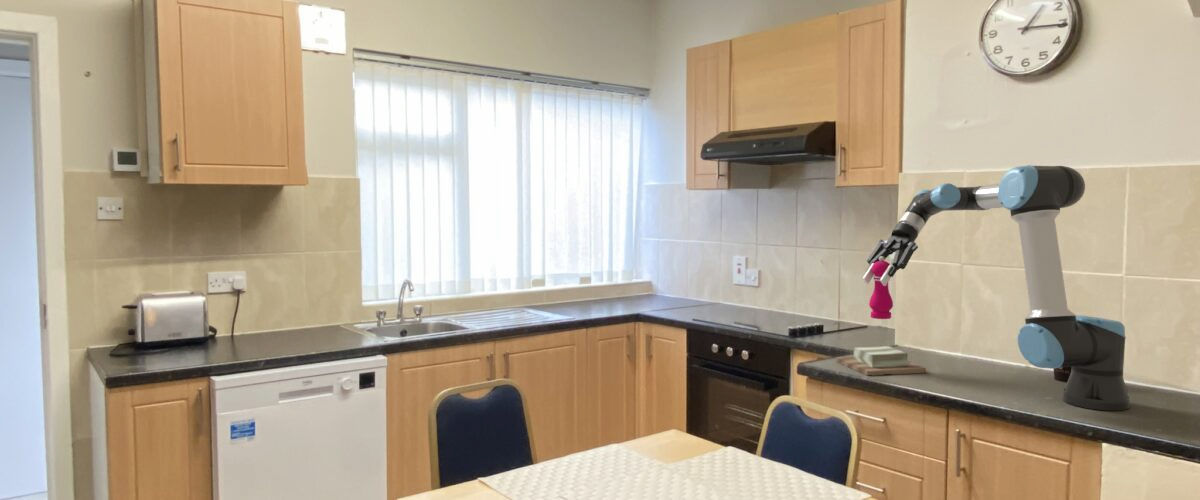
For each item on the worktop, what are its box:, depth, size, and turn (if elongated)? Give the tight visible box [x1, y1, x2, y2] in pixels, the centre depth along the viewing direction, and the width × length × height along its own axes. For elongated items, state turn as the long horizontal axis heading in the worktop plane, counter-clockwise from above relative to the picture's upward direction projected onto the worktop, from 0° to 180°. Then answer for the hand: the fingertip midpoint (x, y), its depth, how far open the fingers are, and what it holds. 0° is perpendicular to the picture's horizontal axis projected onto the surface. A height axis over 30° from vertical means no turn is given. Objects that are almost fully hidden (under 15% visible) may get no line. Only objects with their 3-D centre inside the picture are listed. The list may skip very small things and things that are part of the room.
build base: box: [836, 345, 927, 377], centre depth 247 cm, size 20×20×6 cm
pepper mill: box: [868, 256, 894, 320], centre depth 245 cm, size 7×7×20 cm
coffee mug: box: [1052, 367, 1071, 383], centre depth 230 cm, size 12×9×10 cm
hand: (873, 281), depth 243 cm, fingers closed on pepper mill, 6 cm apart
